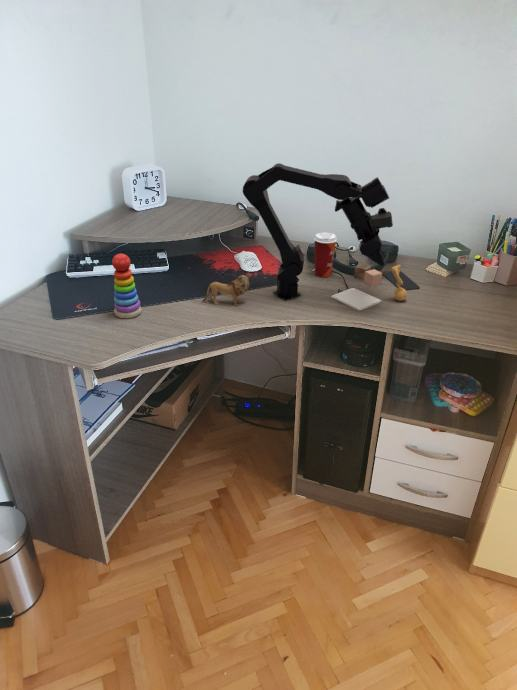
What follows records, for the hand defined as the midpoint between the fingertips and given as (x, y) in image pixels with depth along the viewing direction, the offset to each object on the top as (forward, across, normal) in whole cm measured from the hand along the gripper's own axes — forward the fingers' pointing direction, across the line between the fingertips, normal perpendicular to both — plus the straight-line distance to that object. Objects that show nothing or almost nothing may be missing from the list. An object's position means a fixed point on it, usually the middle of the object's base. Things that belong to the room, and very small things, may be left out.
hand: (382, 259), depth 165 cm
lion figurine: (-14, -8, +46) cm, 49 cm away
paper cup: (+2, +18, +22) cm, 29 cm away
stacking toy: (-29, -20, +69) cm, 78 cm away
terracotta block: (+11, +13, +8) cm, 19 cm away
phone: (+17, +17, 0) cm, 24 cm away
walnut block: (+9, +18, +11) cm, 23 cm away
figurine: (+15, +1, +2) cm, 15 cm away
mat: (+8, 0, +13) cm, 15 cm away
